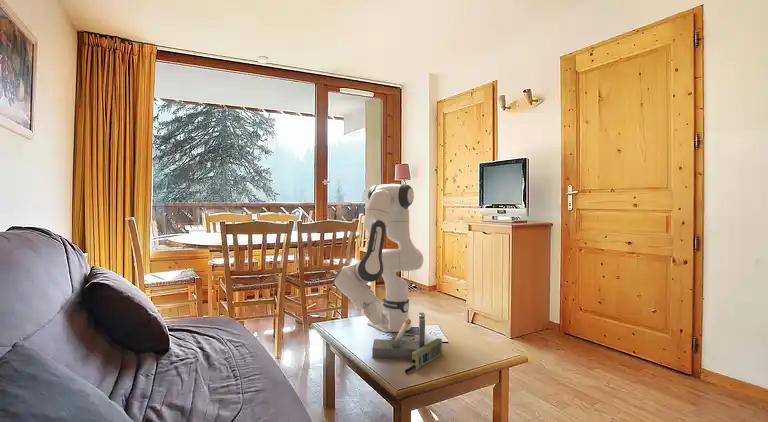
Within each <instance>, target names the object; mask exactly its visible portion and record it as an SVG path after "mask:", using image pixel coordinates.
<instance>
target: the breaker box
mask: <svg viewBox="0 0 768 422" xmlns="http://www.w3.org/2000/svg"><path fill="white" fill-rule="evenodd" d="M396 337H397V335H396V336H395V335H392V337H391V339H389V338H388V339H385V338H384V339H383V338H382V339H381V338H374V339H373V342H372V343H373V344H372V347H371V348H372V351H371V352H372V353H371V355H372V357H371V359H372V358H373V359H393V360H395V359H396V360H397V359H399V360H412V352H414V351H415V350H417V349H419V348H421V347H423V346H424V345H426V342H425V341H426V314H425V312H419V313H418V339H417V340H415V339H400V341H399V343H398V340H395V338H396Z"/></svg>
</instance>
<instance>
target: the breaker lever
mask: <svg viewBox="0 0 768 422" xmlns="http://www.w3.org/2000/svg"><path fill="white" fill-rule="evenodd" d="M409 324H410V325H411V324H412V319H411V318H410V317H409V318H407V319H405V323H404V324H403V326H402V328H401V330H400V331H399V332H397V334H396V336H397V337H396V338H395V340H398V343H399V341H400V340H402V338H403V336H404V334H405V332H406V331H407V330H406V329H407V327H408V325H409Z"/></svg>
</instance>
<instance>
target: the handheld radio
mask: <svg viewBox="0 0 768 422" xmlns="http://www.w3.org/2000/svg"><path fill="white" fill-rule="evenodd" d="M442 341H443V339H442V338H439V337H438V338H435V339H433V340H432V341H430V342H428V343H425V345H424V346H423V347H421V348H419V349H417V350H415V351H414V352H412V359H411V364H412V365H411V366H410V367H407V368H406V369H404V373H405V374H407V373H409V372H411V371H413V370H417V371H418V370H420V369H421V368H423V367H424V366H425V365H427V364H428V363H431V362H432V361H433V360H435V359H437V358H438V357H440V356H442V355H443V342H442Z"/></svg>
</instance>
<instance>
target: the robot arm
mask: <svg viewBox="0 0 768 422" xmlns="http://www.w3.org/2000/svg"><path fill="white" fill-rule="evenodd" d="M414 194H415V193H414V190H413V187H411V185H409V184H405V183H403V184H399V183H388V184H387V183H384V184H379V183H378V184H374V185H372V186H371V187H370V188H369V190H368V193H367V197H368V203H367V204H366V205H367V206H366V208H365V213H364V220H363V225H364V228H365V229H366V231H368V241H367V246H366V252H365V254H364V256H363V257H362V258H361V260H360V261H358V262H357V261H356V262H355V263H353V264H350V265H346V266H345V265H343V266H342V267H340V268H339V270H337V273H336V274H335V275H334V277H333V282H334V284H335V286H336V287H337V289H338V290H339V291H340V292H341V293H342V294H343V295H344V296H346V297H347V298H348V299H349V300H350V302H351V304H353V305H354V307H355V308H356V309H358V310H359V311H363V314H364V316H365V317H366V318H367V319H368V321H367V325H369V326H370V327H373V328H375V329H377V330H379V331H382V332H384V333H390V332H392V333H393V332H394V333H399V331H400V330H401V328H402V326H403V324H404V323H405V319H407V318H409V319H410V313H409V308H410V307H409V306H410V299H409V284H408V282H407V281H406V280H405V279H403V278H402V277H399V276H398V275H397V272H412V271H417V270H420V269H421V268H422V266H423V264H424V255H423V253H422V252H421V251H420V250H419V249H418V248H417V247H416V246H415V245H414V244H413V242H412V239H411V236H410V234H411V233H410V209H409V207H410V206H412V203H413V201H414ZM385 236H386V237H387V238H388V239H389V240H390V241H392V242H394V243H396V244H397V245H398V248H384V242H385ZM381 277H382V279H383V281H384V286H385V298H383V299H381V301H380V299H379V298H378V297H377V296H376V295H375V292H374V291H373V290H372V289H369V288H368V286H367V284H368V283H370V282H376V281H378V280H380V278H381ZM411 328H412V325H411V323H410V324H409V325H408V327H407V329H406V331H409V330H410V329H411Z"/></svg>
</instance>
